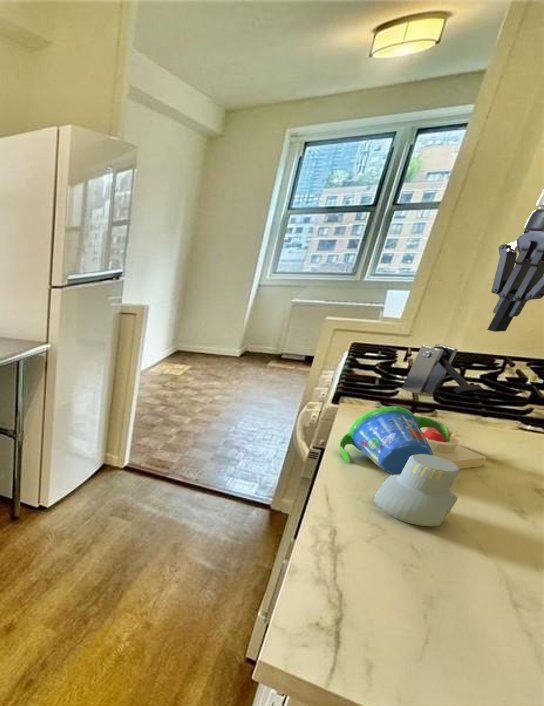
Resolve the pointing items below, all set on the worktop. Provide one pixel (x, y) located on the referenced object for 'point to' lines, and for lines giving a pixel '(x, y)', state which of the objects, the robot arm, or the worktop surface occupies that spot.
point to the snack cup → (390, 437)
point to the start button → (434, 435)
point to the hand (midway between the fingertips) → (496, 330)
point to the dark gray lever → (457, 377)
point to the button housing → (455, 453)
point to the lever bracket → (428, 369)
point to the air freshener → (420, 491)
